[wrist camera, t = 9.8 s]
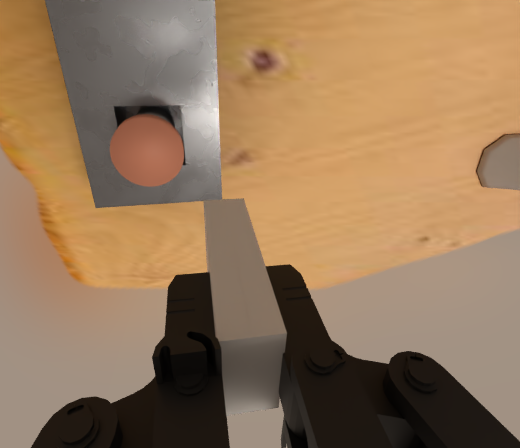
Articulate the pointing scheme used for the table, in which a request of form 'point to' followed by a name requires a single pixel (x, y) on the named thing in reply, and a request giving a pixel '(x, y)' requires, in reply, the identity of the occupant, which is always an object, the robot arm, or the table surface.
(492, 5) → the table surface
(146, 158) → the red plunger
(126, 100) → the block
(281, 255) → the table surface
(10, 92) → the table surface
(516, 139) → the flask
